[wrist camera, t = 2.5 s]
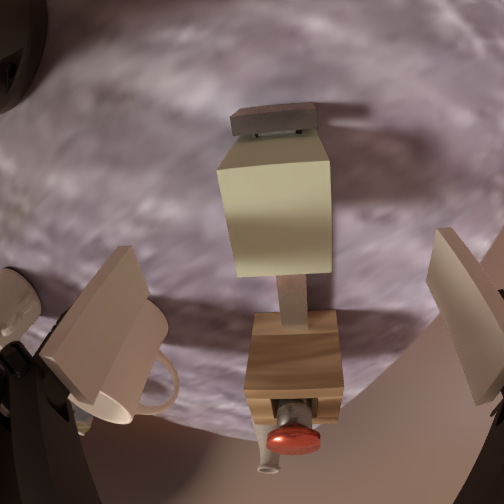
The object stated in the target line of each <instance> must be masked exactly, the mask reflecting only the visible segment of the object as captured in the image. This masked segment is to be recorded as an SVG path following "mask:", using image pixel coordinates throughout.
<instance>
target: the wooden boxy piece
mask: <svg viewBox="0 0 504 504" xmlns="http://www.w3.org/2000/svg"><path fill="white" fill-rule="evenodd" d="M307 313H308V329H297V330H282V325H281V315H280V312H273V313H255V316H254V322H253V329H252V336H251V343H250V350H249V357H248V364H247V370H246V377H245V384H244V392H245V395H246V399H247V402H248V405H249V408H250V411H251V414H252V417H253V420H254V423H255V424H257V425H277V414H278V400H279V399H298V398H312V424H327V423H337V421H338V416H339V411H340V406H341V401H342V396H343V391H344V380H343V369H342V359H341V350H340V341H339V333H338V325H337V317H336V310H319V311H307Z"/></svg>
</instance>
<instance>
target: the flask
mask: <svg viewBox="0 0 504 504" xmlns="http://www.w3.org/2000/svg"><path fill="white" fill-rule="evenodd" d="M251 418H252V422H253V426H254V429H255V432H256V436H257V440H258V443H259V447H260V456H261V461H260V466H258V472H262V473H270V474H274V473H279V472H280V467H279V465H278V463H279V456H280V454H278V453H275V452H272V451H270V450H268V449H267V447H266V444H267V435H268V433H269V432H271V431H273V430H275V429H276V427H277V425H257V424H255V423H254V420H253V417H252V414H251Z"/></svg>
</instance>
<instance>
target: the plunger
mask: <svg viewBox="0 0 504 504" xmlns="http://www.w3.org/2000/svg"><path fill="white" fill-rule="evenodd" d="M266 447H267V449H268V450H270V451H272V452H275V453H278V454H284V455H302V454H308V453H312V452H314V451H316V450H318V449H319V448H320V433H319V432H317V431H316V430H313V429H312V398H298V399H279V400H278V414H277V427H276V429H275V430H273V431H271V432H269V433H268V435H267V444H266Z"/></svg>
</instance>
